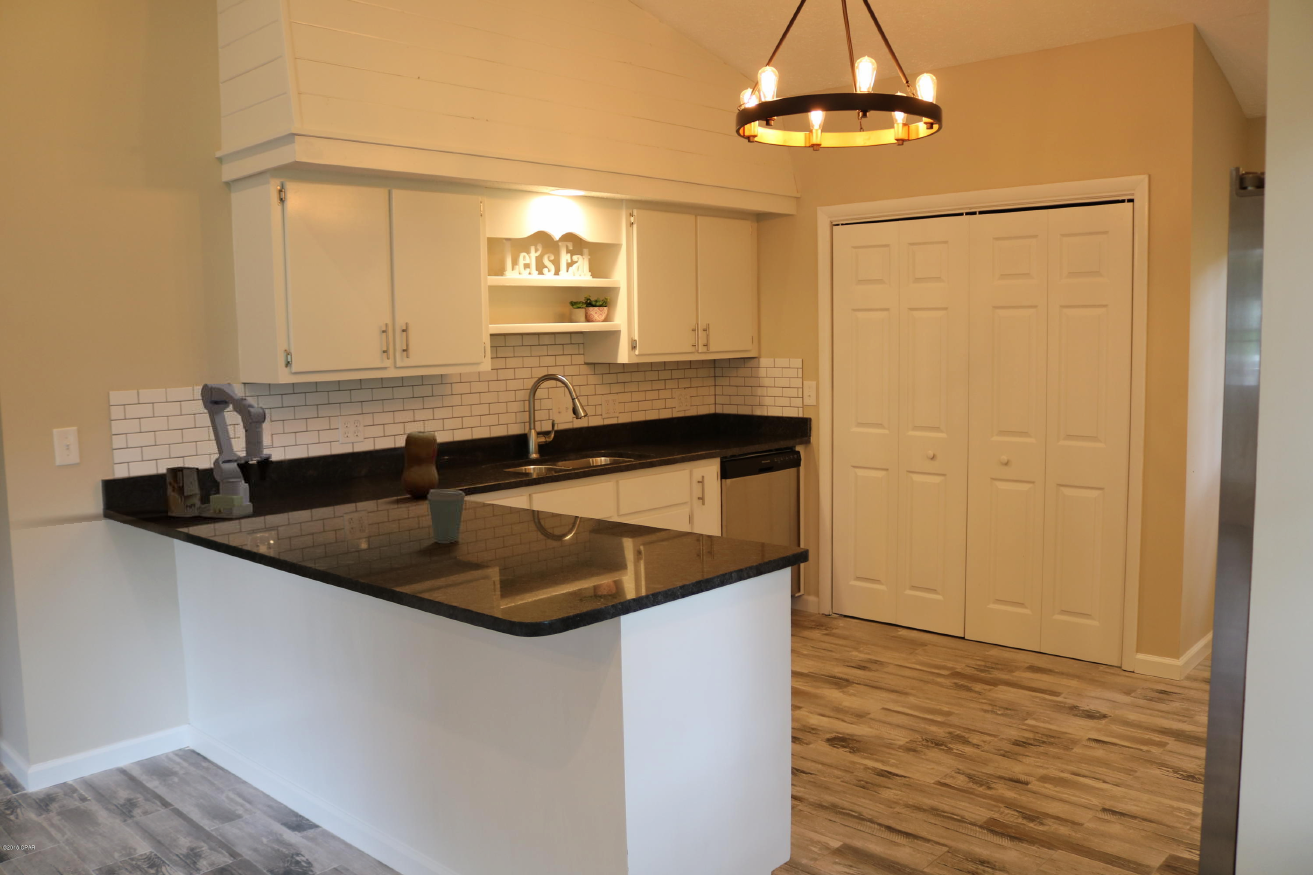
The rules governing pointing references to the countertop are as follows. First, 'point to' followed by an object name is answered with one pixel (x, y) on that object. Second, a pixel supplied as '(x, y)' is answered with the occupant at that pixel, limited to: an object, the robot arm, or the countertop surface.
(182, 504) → the coffee box
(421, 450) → the butternut squash
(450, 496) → the disposable coffee cup
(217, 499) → the board
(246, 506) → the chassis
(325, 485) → the countertop surface
